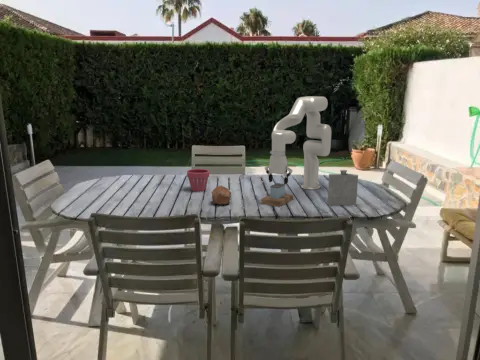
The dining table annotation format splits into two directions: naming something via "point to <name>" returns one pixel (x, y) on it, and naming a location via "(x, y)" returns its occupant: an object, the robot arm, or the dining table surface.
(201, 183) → the plant pot
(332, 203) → the hip flask
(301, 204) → the dining table surface
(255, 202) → the dining table surface
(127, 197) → the dining table surface
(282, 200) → the stand
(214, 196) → the decorative rock
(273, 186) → the block
